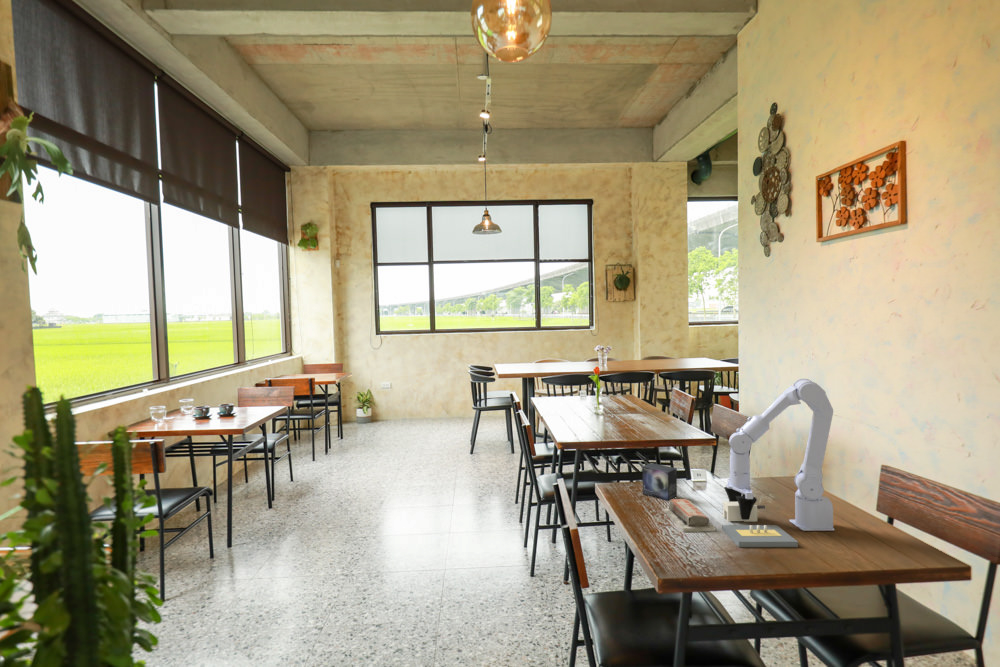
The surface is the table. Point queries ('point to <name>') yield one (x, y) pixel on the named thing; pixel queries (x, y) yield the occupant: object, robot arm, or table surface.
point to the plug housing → (738, 511)
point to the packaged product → (688, 516)
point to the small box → (660, 481)
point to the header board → (759, 536)
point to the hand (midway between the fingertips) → (740, 514)
